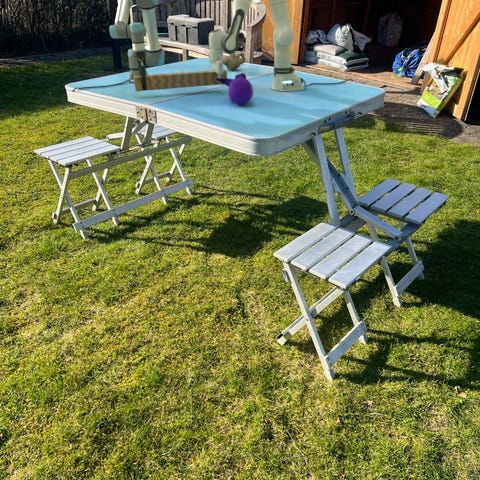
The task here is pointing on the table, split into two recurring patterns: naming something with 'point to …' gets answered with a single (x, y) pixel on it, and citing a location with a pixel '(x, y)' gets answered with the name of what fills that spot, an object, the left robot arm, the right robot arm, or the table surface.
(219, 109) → the table surface
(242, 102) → the toy
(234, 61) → the teapot
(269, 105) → the table surface
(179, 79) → the bar
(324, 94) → the table surface
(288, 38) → the right robot arm
